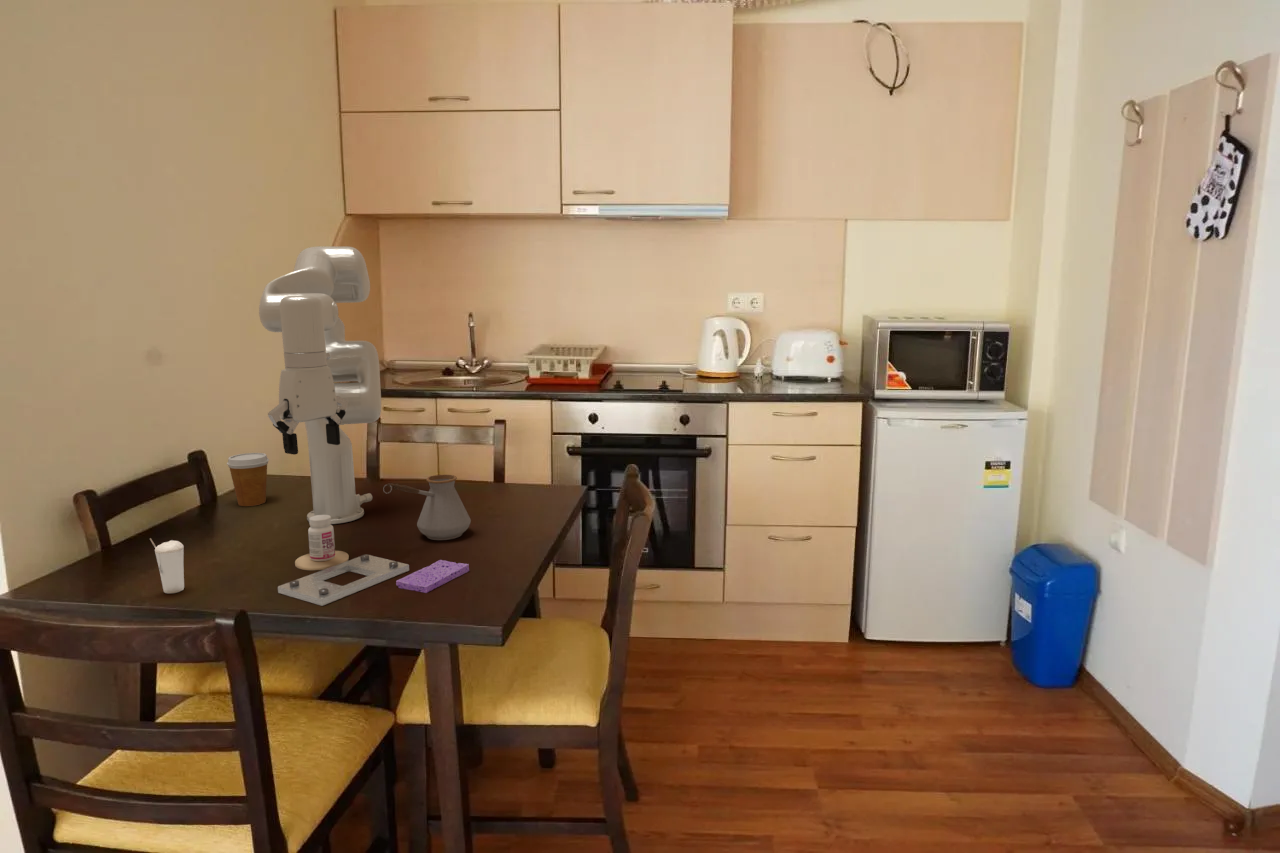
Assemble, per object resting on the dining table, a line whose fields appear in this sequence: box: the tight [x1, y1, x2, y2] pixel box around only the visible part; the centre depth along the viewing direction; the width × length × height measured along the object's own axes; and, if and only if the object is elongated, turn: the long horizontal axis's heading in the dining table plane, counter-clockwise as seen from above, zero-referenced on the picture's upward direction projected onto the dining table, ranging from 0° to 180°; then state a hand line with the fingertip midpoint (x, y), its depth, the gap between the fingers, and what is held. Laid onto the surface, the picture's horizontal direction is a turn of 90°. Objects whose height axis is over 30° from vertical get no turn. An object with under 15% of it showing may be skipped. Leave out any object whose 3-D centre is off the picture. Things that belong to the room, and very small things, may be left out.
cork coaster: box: [294, 550, 350, 571], centre depth 166 cm, size 10×10×1 cm
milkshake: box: [149, 537, 185, 595], centre depth 151 cm, size 5×5×10 cm
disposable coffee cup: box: [226, 452, 270, 507], centre depth 208 cm, size 10×10×12 cm
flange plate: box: [277, 554, 410, 607], centre depth 155 cm, size 20×12×2 cm, turn 149°
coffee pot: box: [382, 474, 472, 541], centre depth 177 cm, size 21×12×15 cm, turn 149°
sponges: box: [395, 559, 470, 594], centre depth 156 cm, size 7×13×2 cm, turn 154°
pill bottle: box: [307, 515, 336, 561], centre depth 166 cm, size 5×5×8 cm
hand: (313, 448), depth 162 cm, fingers open, 9 cm apart
